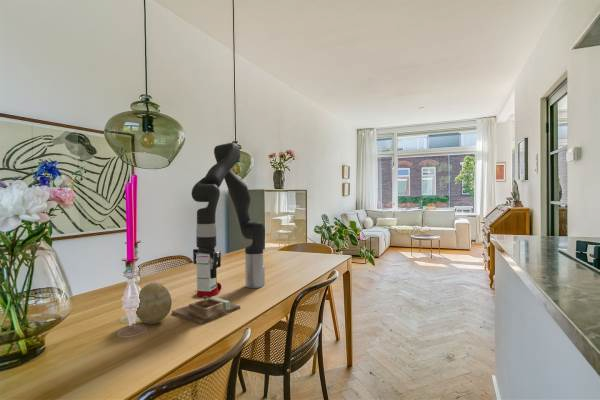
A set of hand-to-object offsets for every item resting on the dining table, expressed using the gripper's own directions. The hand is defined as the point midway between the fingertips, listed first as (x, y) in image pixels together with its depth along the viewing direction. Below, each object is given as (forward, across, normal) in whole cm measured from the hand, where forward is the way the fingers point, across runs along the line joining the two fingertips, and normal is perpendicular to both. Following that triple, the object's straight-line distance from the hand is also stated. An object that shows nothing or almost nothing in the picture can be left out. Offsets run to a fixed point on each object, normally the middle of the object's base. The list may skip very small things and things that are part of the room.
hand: (206, 276), depth 131 cm
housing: (+15, -4, +3) cm, 16 cm away
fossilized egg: (+16, -11, -16) cm, 25 cm away
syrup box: (+5, 0, 0) cm, 5 cm away
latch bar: (+14, 0, +6) cm, 15 cm away
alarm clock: (+16, -23, +20) cm, 35 cm away
